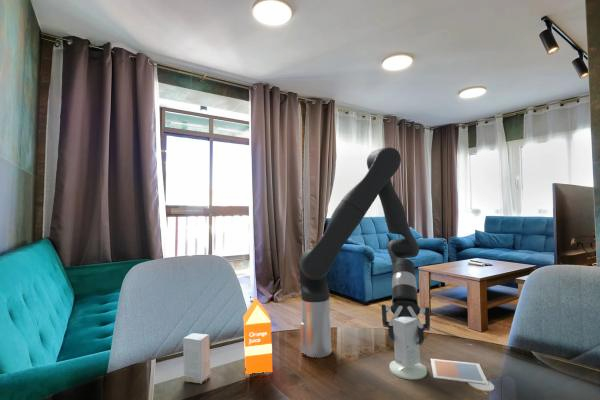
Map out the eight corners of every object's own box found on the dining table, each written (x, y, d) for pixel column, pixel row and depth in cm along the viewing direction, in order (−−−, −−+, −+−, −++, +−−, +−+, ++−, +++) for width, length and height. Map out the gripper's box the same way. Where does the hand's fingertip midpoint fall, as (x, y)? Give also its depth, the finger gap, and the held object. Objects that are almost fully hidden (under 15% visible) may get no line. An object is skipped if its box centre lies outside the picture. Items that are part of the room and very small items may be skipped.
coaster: (388, 376, 85) (388, 373, 85) (390, 360, 94) (390, 357, 94) (428, 381, 81) (428, 378, 81) (425, 364, 91) (425, 361, 91)
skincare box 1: (211, 377, 88) (210, 334, 88) (201, 385, 84) (200, 340, 84) (193, 374, 90) (192, 332, 90) (183, 382, 86) (182, 338, 86)
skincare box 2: (407, 368, 84) (404, 323, 85) (394, 362, 88) (391, 319, 89) (421, 362, 88) (418, 318, 88) (407, 356, 91) (405, 314, 92)
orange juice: (245, 378, 87) (243, 305, 87) (244, 363, 95) (242, 297, 96) (273, 374, 88) (271, 303, 89) (269, 360, 97) (267, 295, 98)
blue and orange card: (433, 377, 83) (433, 377, 83) (430, 359, 94) (430, 358, 94) (488, 384, 79) (488, 383, 79) (479, 364, 89) (479, 363, 89)
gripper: (380, 282, 98) (378, 334, 87) (428, 284, 94) (434, 339, 82) (382, 294, 103) (381, 345, 91) (428, 297, 98) (433, 350, 87)
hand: (406, 342), depth 87 cm, fingers closed on skincare box 2, 6 cm apart
